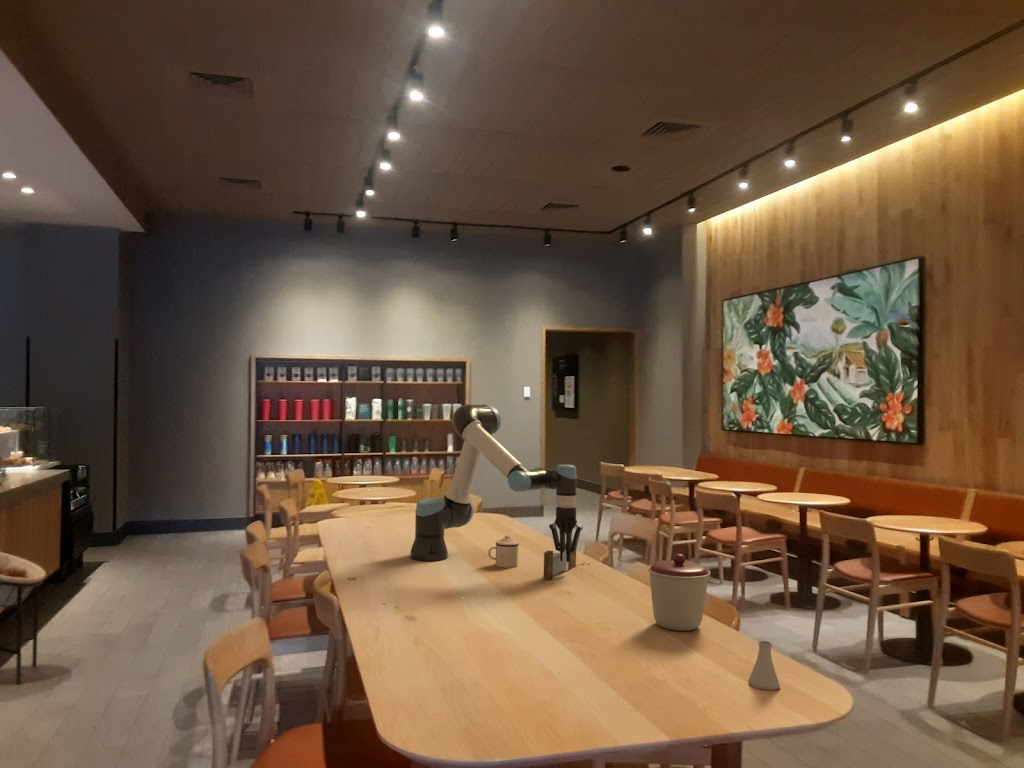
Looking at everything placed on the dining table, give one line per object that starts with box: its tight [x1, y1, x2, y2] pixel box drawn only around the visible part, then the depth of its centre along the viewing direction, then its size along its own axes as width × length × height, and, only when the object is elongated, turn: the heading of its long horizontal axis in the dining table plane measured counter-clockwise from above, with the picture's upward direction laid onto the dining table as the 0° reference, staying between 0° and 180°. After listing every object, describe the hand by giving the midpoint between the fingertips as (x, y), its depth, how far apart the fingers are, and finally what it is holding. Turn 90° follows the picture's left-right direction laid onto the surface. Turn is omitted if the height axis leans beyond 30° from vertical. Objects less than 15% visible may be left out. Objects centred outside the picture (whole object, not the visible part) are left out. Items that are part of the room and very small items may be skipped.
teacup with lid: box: [487, 534, 520, 569], centre depth 297 cm, size 12×9×12 cm
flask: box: [747, 639, 781, 691], centre depth 179 cm, size 7×7×10 cm
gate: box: [553, 549, 566, 575], centre depth 286 cm, size 14×1×8 cm, turn 152°
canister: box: [647, 553, 711, 632], centre depth 224 cm, size 18×18×21 cm
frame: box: [542, 540, 577, 581], centre depth 287 cm, size 2×28×10 cm, turn 154°
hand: (565, 570), depth 283 cm, fingers closed
